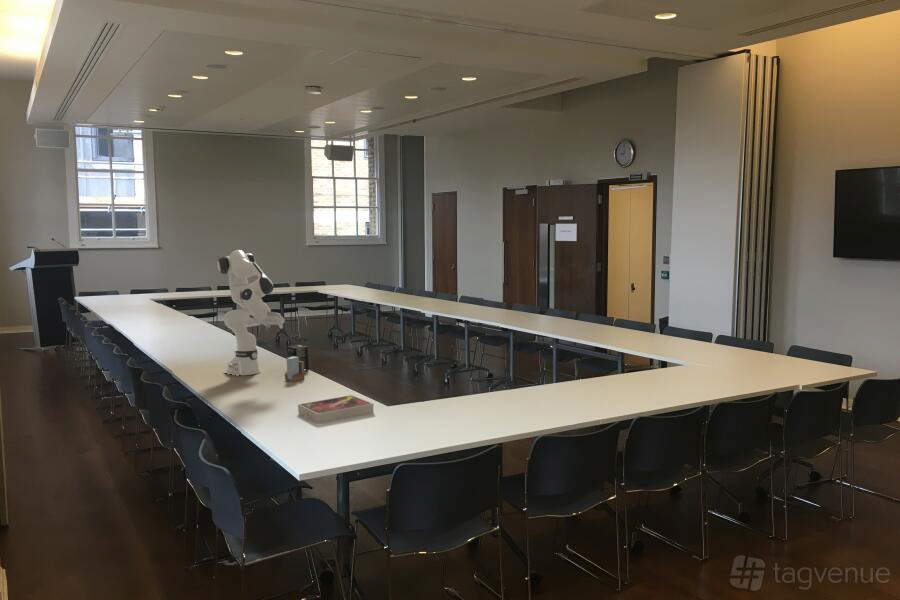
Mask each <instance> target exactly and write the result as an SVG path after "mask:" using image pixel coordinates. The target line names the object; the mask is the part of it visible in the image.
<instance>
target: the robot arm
mask: <svg viewBox="0 0 900 600" xmlns="http://www.w3.org/2000/svg"><path fill="white" fill-rule="evenodd" d="M256 260H257V259H256V257H255V255H254V254H252V253H249V252H244V251H243V250H242V249H235V250H233V251H232V252H231V253H230V254H229V255H227V256H221V257H219V258H218V259H217V264H216V267H217V269H218V271H219V273H220V274H221V275H228V283H229V284H228V285H229V292H230V296H231V300H232V301H233V302H234V303H235V304H238V306H240V308H241V309H240V308H239V309H233V310H230V311H226V312H225V314H224V316H223V322H224V325H225V326H226V327H227V328H228V329H230V330H231V331H232V333H234V335H235V339H236V347H237V348H236V349H237V350H234V354H235V355H234V357H233V358H232V359H231V360H230V361H228V363H227V369H226V370H223V374H225V373H227V374H226V375H230V374H232V375H231V376H235V375H236V376H235V377H239V375H241V376H250V375H256V374H260V373H261V368H260V366H259V365H260V364H259V359H258V355H259V354H258V349H257V337H256V335H255V334H253V332H252V333H251V332H249V331H248V327H257V326H259V325H263V326H264V327H266V328H267V329H269V328H271V326H272V325H273V326H274V325H275V326H278V328H279V329H284V323H285V321H286V319H285V317H283V316H282V315H281V314H280V313H279V312H275V311H272V309H271V308H270V307H269V306H268V304H267V303H266V302H264V300H263V299H262V298H263V297H265V296H267V295H269V294H271V293H273V291H274V287H275V286H274V282H273V281H272V279H270V278H269V277H268V276H267V275H266V274H265V272H264V271H263V270H262V268H261V267H260V266H259V265H258V264H257V261H256ZM253 276H257V277H258V278H257V279H256V280H254V281H252V282H251V283H249V280H248V279H249V278H250V277H253Z"/></svg>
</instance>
